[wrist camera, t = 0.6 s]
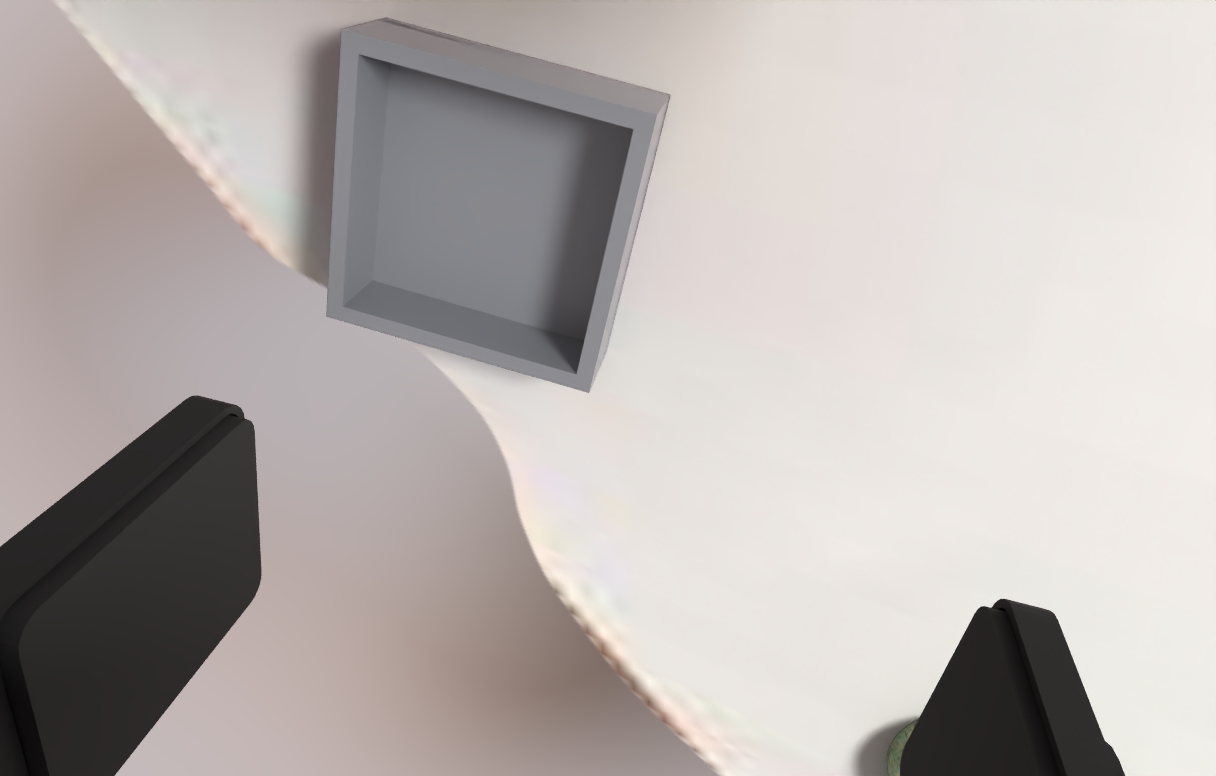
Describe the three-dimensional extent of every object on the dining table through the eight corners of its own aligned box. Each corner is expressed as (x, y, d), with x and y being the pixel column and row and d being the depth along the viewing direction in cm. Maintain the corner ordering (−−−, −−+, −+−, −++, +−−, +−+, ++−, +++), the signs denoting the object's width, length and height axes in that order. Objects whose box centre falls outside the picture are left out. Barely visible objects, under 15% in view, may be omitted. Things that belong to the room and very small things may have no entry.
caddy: (385, 17, 39) (341, 29, 35) (670, 94, 39) (656, 115, 35) (365, 282, 46) (326, 316, 42) (606, 352, 45) (589, 392, 42)
